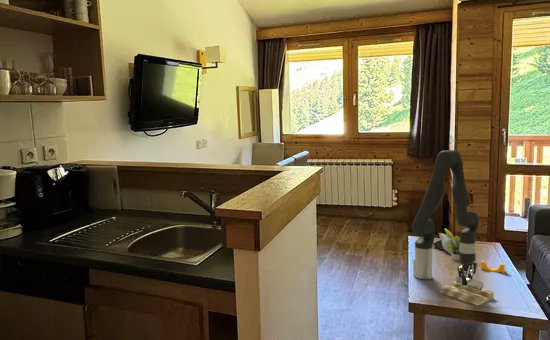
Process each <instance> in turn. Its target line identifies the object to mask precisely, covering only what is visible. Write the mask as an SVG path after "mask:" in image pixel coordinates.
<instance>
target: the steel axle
mask: <svg viewBox="0 0 550 340" xmlns="http://www.w3.org/2000/svg"><path fill="white" fill-rule="evenodd" d="M455 281H456V283H457V284H460V285H462V278H461V277H459V274H458V275H457V276H456V278H455ZM463 286H464V285H463ZM466 286H467V287H470V288H473V289H476V290H480V291H481V290H482V288H483V289H484V282H483V281H481V280H477V279H471V278H468V277H467V285H466Z"/></svg>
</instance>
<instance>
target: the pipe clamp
mask: <svg viewBox="0 0 550 340" xmlns="http://www.w3.org/2000/svg"><path fill="white" fill-rule="evenodd" d="M480 270H484V271H487V272H488V271H489V272H493V273H499V274H500V273H501V274H502V275H503V274H505V272H506V266H505V263H500V264H499V266H498V267H492V268H491V267H489V266H488V264H487V263H486V261H485V260H481V261H480Z"/></svg>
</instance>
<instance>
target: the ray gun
mask: <svg viewBox="0 0 550 340" xmlns="http://www.w3.org/2000/svg"><path fill="white" fill-rule="evenodd" d="M443 231H444V232H445V233H441V232H438V236H439V238H440V239H439V240H436V241H434V243H433V245H432V249H436V248H437V249H436V250H440V249H441V250H442V251H446V252H447V253H448V254H450V255H451V252H453V250H452V249H451V248H447V247H452V245H451V244H452V243H451V241H450V240H449V239H451V240H452V241H453V243H454V242H455V245H456V240H457V241H458V239H459V236H457V235H455V236H454V234H453V233H452V232H451V230H449V229H447V228H444V230H443ZM455 238H456V239H455ZM448 241H449V242H450V243H451V244H450V243H449V242H448ZM455 245H454V246H455Z"/></svg>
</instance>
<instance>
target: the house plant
mask: <svg viewBox="0 0 550 340" xmlns="http://www.w3.org/2000/svg"><path fill="white" fill-rule="evenodd" d="M458 238H459V239H458V241H457V240H456V245H455V242H454V243H453V241H452V240H451V239H449V240H450V241H451V243H452V244H451V243H450V242H449V241H448V242H449V243H450V244H451V245H452V247H447V248H451V249H452V250H453V252H451V254H450V257H451V259H452V260H453V261H457V262H458V261H461V260H460V259H459V245H460V236H458ZM455 239H456V238H455ZM454 245H455V246H454Z"/></svg>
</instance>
